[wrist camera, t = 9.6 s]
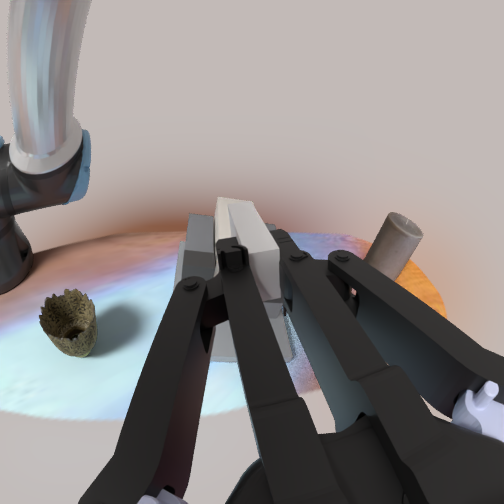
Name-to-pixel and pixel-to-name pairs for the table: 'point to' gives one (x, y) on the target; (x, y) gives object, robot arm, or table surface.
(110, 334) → the table surface
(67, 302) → the cup
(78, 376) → the table surface
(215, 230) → the peg
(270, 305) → the guide
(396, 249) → the pillar candle
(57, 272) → the table surface
